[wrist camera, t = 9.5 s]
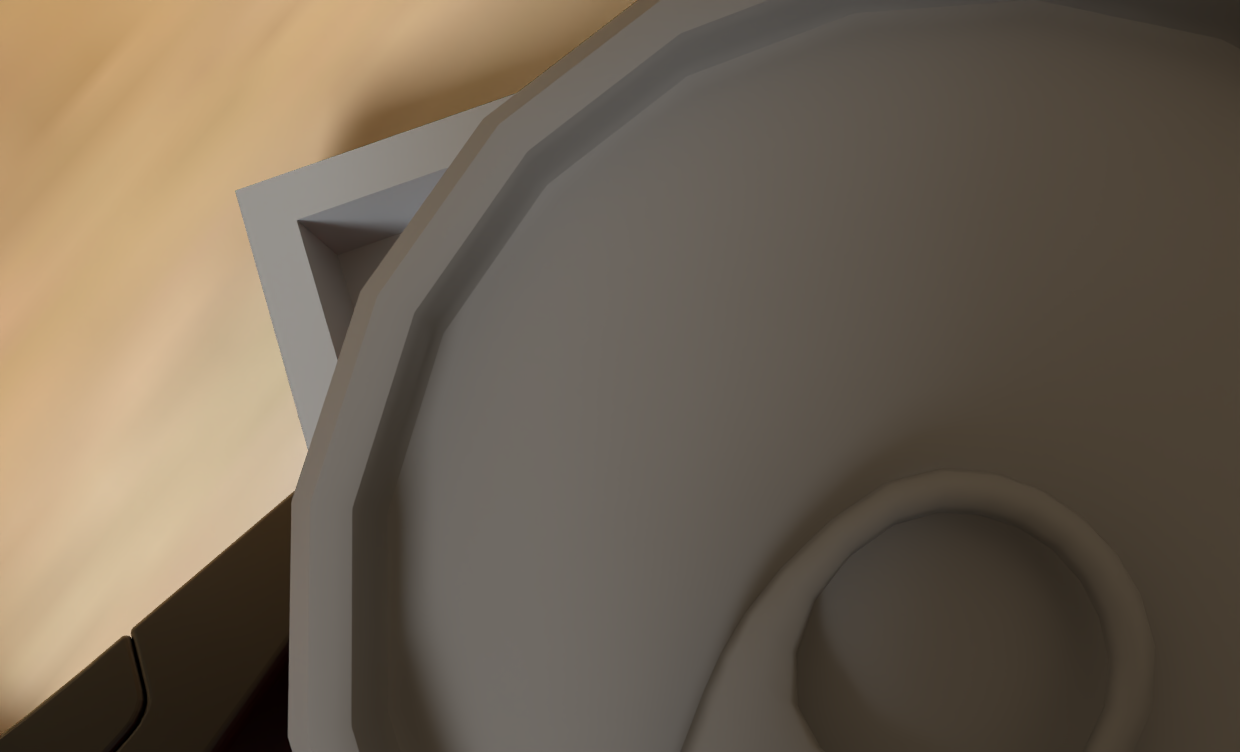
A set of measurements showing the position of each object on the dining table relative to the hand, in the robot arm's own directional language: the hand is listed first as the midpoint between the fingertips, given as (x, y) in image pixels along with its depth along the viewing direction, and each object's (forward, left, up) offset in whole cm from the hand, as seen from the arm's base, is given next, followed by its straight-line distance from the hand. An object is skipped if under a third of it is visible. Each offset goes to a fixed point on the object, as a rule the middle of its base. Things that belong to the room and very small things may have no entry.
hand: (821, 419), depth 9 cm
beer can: (-1, 0, -7) cm, 7 cm away
